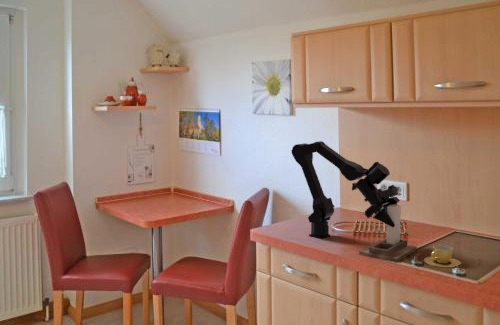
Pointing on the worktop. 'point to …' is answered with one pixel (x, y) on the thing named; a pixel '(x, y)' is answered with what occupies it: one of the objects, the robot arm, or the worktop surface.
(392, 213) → the clay block
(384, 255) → the rack
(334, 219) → the worktop surface
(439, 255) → the cup
